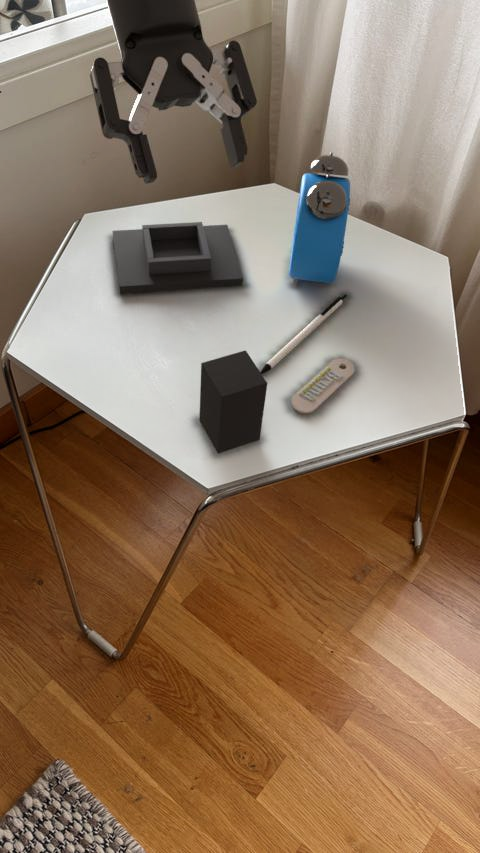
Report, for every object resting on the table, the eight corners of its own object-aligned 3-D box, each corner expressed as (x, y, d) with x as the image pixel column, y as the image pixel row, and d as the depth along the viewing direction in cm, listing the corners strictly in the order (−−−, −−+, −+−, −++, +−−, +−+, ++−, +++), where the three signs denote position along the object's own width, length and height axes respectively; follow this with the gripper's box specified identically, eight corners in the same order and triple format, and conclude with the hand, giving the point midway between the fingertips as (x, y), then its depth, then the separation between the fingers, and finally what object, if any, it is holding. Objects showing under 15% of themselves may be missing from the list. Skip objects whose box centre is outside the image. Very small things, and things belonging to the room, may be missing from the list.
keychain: (339, 352, 85) (360, 365, 84) (338, 356, 86) (359, 368, 84) (286, 400, 80) (307, 414, 79) (285, 403, 80) (307, 417, 79)
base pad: (119, 294, 90) (118, 274, 88) (113, 237, 98) (111, 218, 95) (242, 285, 93) (244, 266, 91) (226, 231, 101) (228, 212, 98)
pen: (348, 299, 93) (349, 292, 92) (262, 379, 83) (263, 372, 82) (342, 296, 93) (343, 289, 93) (256, 375, 83) (256, 368, 82)
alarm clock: (292, 240, 100) (307, 139, 89) (336, 245, 100) (356, 145, 89) (285, 299, 92) (300, 197, 80) (332, 305, 92) (354, 203, 80)
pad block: (217, 453, 75) (221, 397, 68) (199, 420, 78) (201, 362, 71) (259, 439, 77) (267, 382, 70) (240, 407, 79) (245, 349, 73)
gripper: (72, -31, 56) (129, 175, 59) (234, -45, 61) (281, 146, 63) (62, 15, 63) (113, 197, 66) (208, -1, 68) (251, 170, 70)
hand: (195, 172), depth 64 cm, fingers open, 8 cm apart
